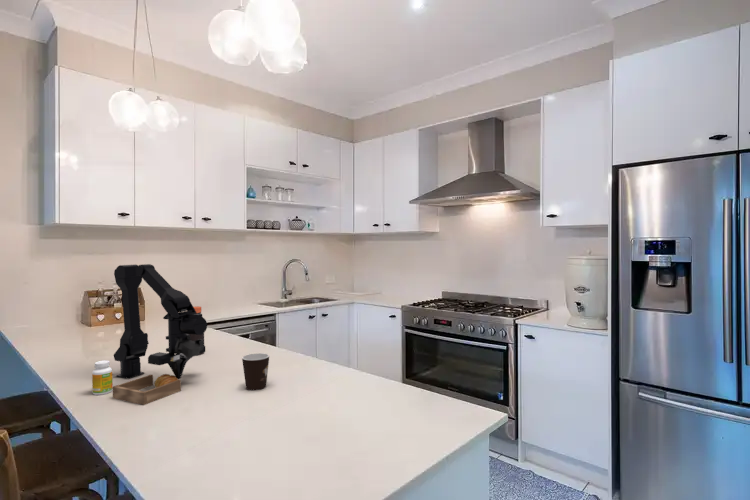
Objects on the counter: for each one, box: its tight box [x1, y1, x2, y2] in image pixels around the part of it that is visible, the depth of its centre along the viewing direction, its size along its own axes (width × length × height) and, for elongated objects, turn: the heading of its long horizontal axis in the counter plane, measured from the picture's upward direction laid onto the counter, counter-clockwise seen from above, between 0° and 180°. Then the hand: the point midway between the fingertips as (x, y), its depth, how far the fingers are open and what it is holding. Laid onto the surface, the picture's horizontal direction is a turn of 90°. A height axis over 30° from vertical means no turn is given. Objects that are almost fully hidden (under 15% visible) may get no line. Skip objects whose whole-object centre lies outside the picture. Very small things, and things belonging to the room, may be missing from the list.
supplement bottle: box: [91, 360, 114, 396], centre depth 134 cm, size 5×5×10 cm
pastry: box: [153, 373, 179, 388], centre depth 138 cm, size 9×7×4 cm
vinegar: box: [187, 306, 205, 356], centre depth 180 cm, size 7×7×20 cm
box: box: [112, 374, 182, 406], centre depth 132 cm, size 14×13×4 cm
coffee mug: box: [241, 352, 270, 391], centre depth 139 cm, size 12×9×10 cm
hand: (178, 378), depth 142 cm, fingers closed
